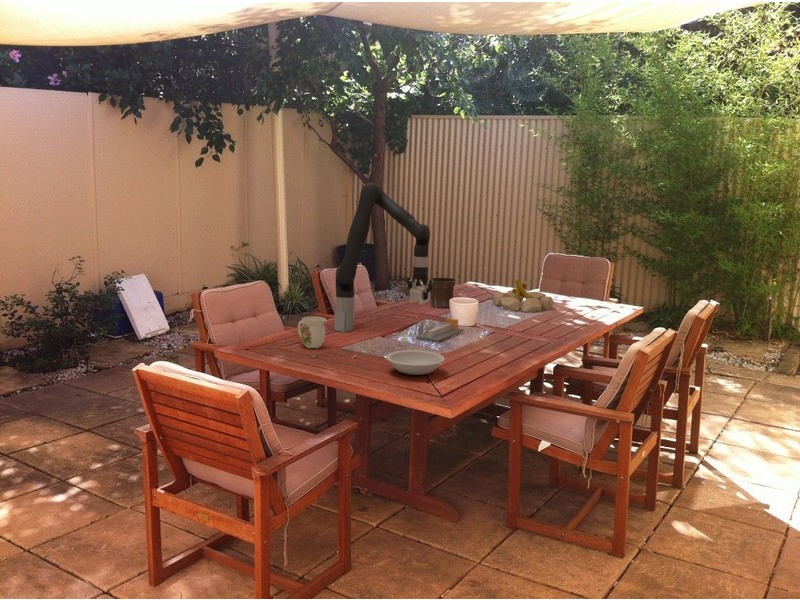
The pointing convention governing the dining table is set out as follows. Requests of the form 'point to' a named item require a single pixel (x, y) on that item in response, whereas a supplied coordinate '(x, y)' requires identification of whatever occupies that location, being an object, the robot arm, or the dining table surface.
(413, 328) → the dining table surface
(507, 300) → the campfire
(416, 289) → the lock block
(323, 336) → the pitcher
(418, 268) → the robot arm
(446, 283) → the plant pot
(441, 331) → the coupler stand
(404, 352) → the soup bowl
